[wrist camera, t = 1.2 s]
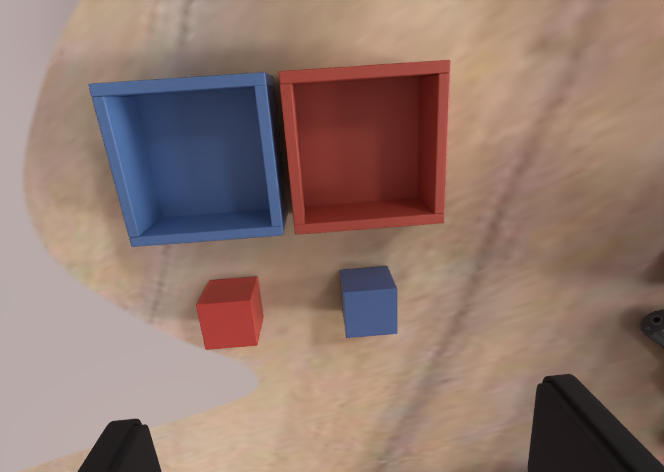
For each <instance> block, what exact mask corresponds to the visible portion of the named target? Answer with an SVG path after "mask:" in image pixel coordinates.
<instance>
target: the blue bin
mask: <svg viewBox="0 0 664 472" xmlns="http://www.w3.org/2000/svg"><path fill="white" fill-rule="evenodd" d="M88 85H89V89H90V93H91V96H92V100H93V103H94V107H95V111H96V115H97V119H98V122H99V126H100V130H101V134H102V137H103V141H104V145H105V149H106V152H107V156H108V160H109V164H110V168H111V171H112V175H113V179H114V183H115V186H116V190H117V194H118V198H119V201H120V205H121V209H122V213H123V217H124V220H125V224H126V228H127V232H128V235H129V237H130V238H129V239H130V243H131V246H132V247H138V246H151V245H164V244H177V243H190V242H203V241H216V240H229V239H242V238H255V237H268V236H281V235H283V234H284V229H285V224H286V219H287V215H288V213H287V203H286V194H285V185H284V176H283V167H282V158H281V148H280V139H279V130H278V121H277V112H276V102H275V93H274V84H273V77H272V76H271V75H269V74H267V73H265V72H260V73H245V74H230V75H215V76H200V77H185V78H170V79H155V80H140V81H125V82H110V83H95V84H88Z"/></svg>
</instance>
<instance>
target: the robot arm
mask: <svg viewBox="0 0 664 472" xmlns="http://www.w3.org/2000/svg"><path fill="white" fill-rule="evenodd" d="M78 472H161V468H160V465H159V461H158V458H157V455H156V451H155V448H154V444H153V441H152V438H151V434H150V431H149V428H148V426H147V425H142V423H141V421H140V420H139V419H129V420H118V421H112V422H110V423H109V424H108V425H107V427H106V428H105V430H104V431H103V433H102V434H101V436H100V437H99V439H98V440H97V442H96V444H95V445H94V447H93V448H92V450H91V451H90V453H89V455H88V456H87V458H86V459H85V461H84V462H83V464H82V466H81V467H80V469H79V470H78ZM528 472H664V466H663V465H662V464H661V463H660V462H659V461H658V460H657V459H656V458H655V457H654V456H653V455H652V454H651V453H650V452H649V451H648V450H647V449H646V448H645V447H644V446H643V445H642V444H641V443H640V442H639V441H638V440H637V439H636V438H635V437H634V436H633V435H632V434H631V433H630V432H629V431H628V430H627V429H626V428H625V427H624V426H623V425H622V424H621V423H620V422H619V421H618V420H617V419H616V417H615V416H614V415H613V414H612V413H611V412H610V411H609V410H608V409H607V408H606V407H605V406H604V405H603V404H602V403H601V402H600V401H599V400H598V399H597V398H596V397H595V396H594V395H593V394H592V393H591V392H590V391H589V390H588V389H587V388H586V387H585V386H584V385H583V384H582V383H581V382H580V381H579V380H578V379H577V378H576V377H574V376H573V375H571V374H564V375H555V376H547V377H545V378H544V379H543V382H542V383H540V384H538V386H537V390H536V399H535V408H534V416H533V425H532V434H531V442H530V451H529V460H528Z"/></svg>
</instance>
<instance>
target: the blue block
mask: <svg viewBox="0 0 664 472" xmlns="http://www.w3.org/2000/svg"><path fill="white" fill-rule="evenodd" d="M340 279H341V295H342V311H343V318H344V325H345V332H346V338H352V337H364V336H376V335H388V334H397V287H396V285H395V283H394V280H393V278H392V276H391V274H390V271H389V269H388V267H387V266H382V267H369V268H356V269H344V270H340Z"/></svg>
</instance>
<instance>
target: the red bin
mask: <svg viewBox="0 0 664 472" xmlns="http://www.w3.org/2000/svg"><path fill="white" fill-rule="evenodd" d="M449 72H450V60H440V61H425V62H410V63H395V64H380V65H365V66H350V67H335V68H320V69H305V70H290V71H279V82H280V92H281V102H282V112H283V121H284V131H285V141H286V150H287V160H288V169H289V179H290V189H291V198H292V208H293V218H294V227H295V234H308V233H321V232H334V231H347V230H360V229H373V228H386V227H399V226H412V225H425V224H438V223H444V210H445V185H446V160H447V135H448V110H449V85H450V73H449Z"/></svg>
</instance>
